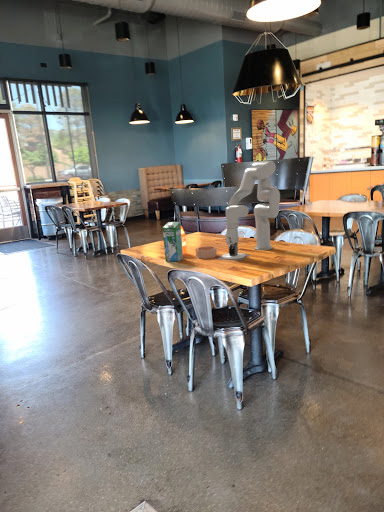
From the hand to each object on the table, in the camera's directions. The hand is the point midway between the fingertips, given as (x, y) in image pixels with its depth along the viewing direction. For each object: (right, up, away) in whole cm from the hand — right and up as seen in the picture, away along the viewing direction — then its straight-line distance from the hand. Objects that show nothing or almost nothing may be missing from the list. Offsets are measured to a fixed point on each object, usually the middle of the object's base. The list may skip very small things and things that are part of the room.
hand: (233, 253), depth 250 cm
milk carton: (-39, -5, +7) cm, 40 cm away
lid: (0, -2, +1) cm, 2 cm away
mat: (0, -3, +1) cm, 3 cm away
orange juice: (-37, -1, +25) cm, 44 cm away
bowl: (-17, -3, +8) cm, 19 cm away
